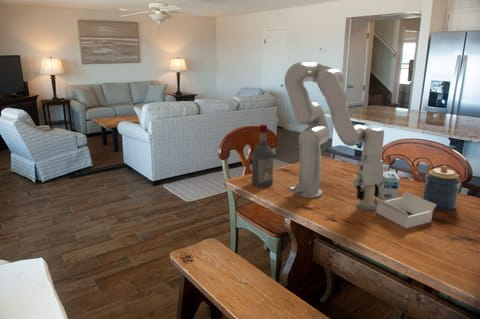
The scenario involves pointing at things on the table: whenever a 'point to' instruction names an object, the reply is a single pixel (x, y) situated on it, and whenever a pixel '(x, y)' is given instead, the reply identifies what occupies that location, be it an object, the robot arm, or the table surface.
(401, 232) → the table surface
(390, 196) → the light bulb box
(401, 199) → the white open box
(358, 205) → the grey ellipsoid
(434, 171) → the canister
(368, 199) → the candle
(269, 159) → the liquor
